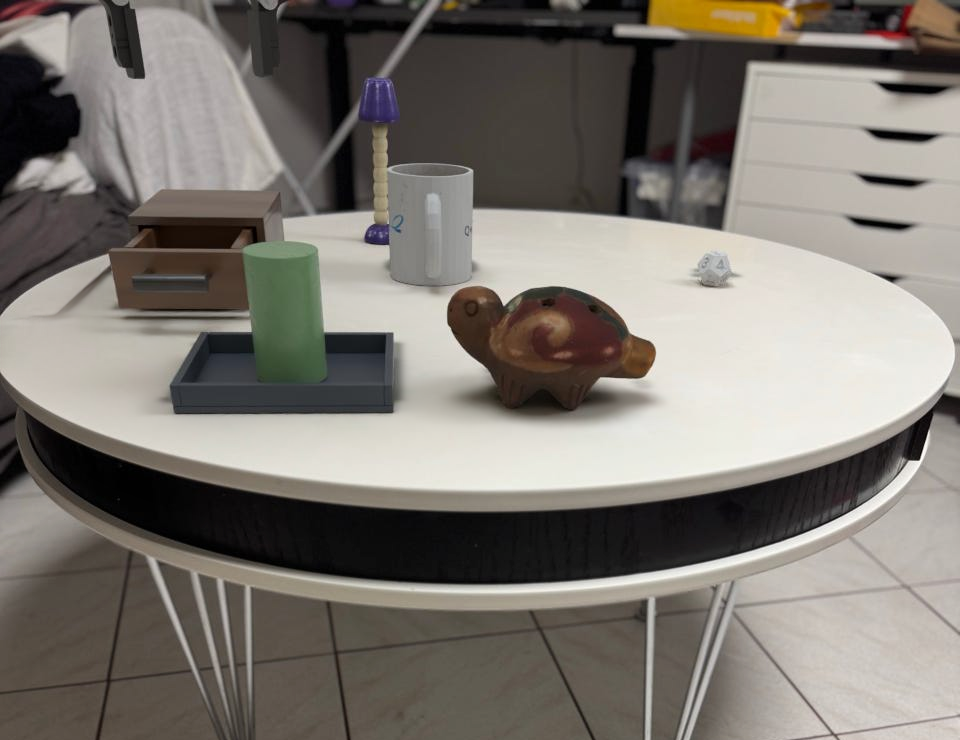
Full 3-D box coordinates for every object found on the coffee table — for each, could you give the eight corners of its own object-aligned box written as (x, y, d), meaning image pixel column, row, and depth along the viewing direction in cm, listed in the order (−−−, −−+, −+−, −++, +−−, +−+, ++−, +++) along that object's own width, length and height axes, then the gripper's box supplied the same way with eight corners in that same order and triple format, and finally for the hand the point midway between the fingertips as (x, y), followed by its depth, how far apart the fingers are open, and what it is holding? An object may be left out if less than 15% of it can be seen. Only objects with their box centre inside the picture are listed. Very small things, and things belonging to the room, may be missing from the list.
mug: (398, 263, 100) (395, 161, 94) (476, 267, 99) (478, 165, 93) (375, 292, 90) (370, 180, 84) (461, 297, 89) (462, 185, 83)
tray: (174, 413, 63) (169, 385, 62) (204, 356, 73) (201, 331, 72) (393, 412, 64) (392, 384, 63) (394, 356, 74) (393, 332, 73)
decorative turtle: (435, 377, 70) (442, 267, 66) (623, 385, 73) (641, 280, 68) (449, 418, 62) (457, 296, 58) (660, 426, 64) (683, 309, 60)
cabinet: (271, 289, 90) (263, 217, 86) (141, 289, 89) (127, 215, 85) (286, 255, 102) (280, 190, 98) (171, 254, 101) (160, 189, 97)
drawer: (243, 323, 78) (235, 263, 75) (106, 322, 77) (94, 262, 74) (267, 271, 92) (262, 220, 89) (153, 271, 91) (143, 219, 88)
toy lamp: (410, 240, 109) (407, 78, 100) (386, 247, 106) (381, 80, 96) (379, 235, 111) (373, 75, 102) (354, 241, 108) (346, 77, 99)
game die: (722, 279, 98) (727, 249, 96) (734, 288, 94) (739, 257, 93) (690, 279, 97) (695, 249, 95) (701, 288, 94) (706, 257, 92)
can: (253, 388, 66) (236, 257, 61) (261, 364, 70) (247, 240, 65) (325, 388, 66) (314, 258, 61) (329, 364, 71) (320, 241, 65)
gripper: (258, -234, 56) (283, 72, 66) (11, -270, 50) (77, 73, 60) (303, -254, 51) (323, 81, 61) (34, -297, 45) (102, 83, 55)
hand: (201, 77), depth 60 cm, fingers open, 8 cm apart
